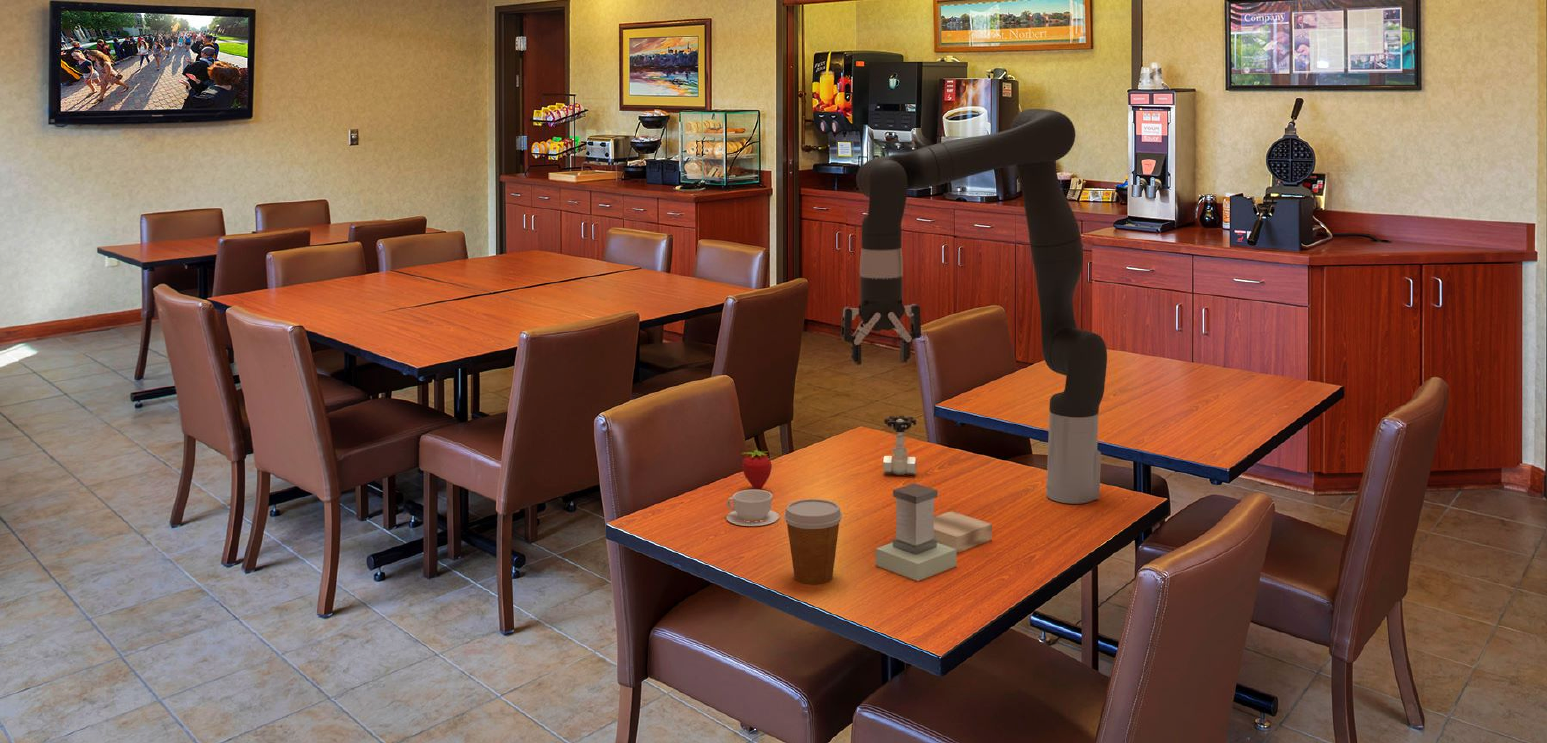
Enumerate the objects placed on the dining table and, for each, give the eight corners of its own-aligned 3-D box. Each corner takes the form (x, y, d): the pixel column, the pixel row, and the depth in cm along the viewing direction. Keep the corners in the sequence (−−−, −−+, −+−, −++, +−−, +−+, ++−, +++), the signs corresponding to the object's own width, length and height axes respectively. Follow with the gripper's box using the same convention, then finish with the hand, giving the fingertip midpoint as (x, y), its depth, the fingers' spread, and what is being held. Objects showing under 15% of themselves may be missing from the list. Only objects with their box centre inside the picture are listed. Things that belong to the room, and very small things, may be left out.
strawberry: (746, 498, 236) (745, 449, 234) (739, 487, 243) (738, 439, 241) (775, 496, 237) (774, 447, 235) (768, 484, 244) (767, 437, 242)
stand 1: (914, 551, 207) (914, 534, 206) (956, 566, 200) (956, 549, 199) (875, 565, 200) (875, 548, 200) (917, 581, 193) (918, 564, 193)
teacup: (785, 513, 228) (785, 489, 227) (770, 530, 218) (769, 506, 217) (736, 508, 231) (735, 485, 230) (718, 525, 221) (718, 501, 220)
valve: (914, 480, 246) (914, 423, 243) (882, 478, 247) (882, 422, 244) (916, 470, 252) (917, 415, 249) (885, 469, 253) (886, 414, 251)
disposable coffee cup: (782, 567, 200) (780, 499, 198) (838, 564, 201) (838, 496, 198) (787, 589, 191) (786, 518, 188) (846, 587, 192) (846, 516, 189)
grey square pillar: (913, 539, 204) (914, 483, 202) (936, 547, 200) (937, 490, 198) (892, 546, 200) (893, 489, 198) (915, 554, 197) (916, 497, 194)
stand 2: (950, 526, 218) (950, 511, 218) (991, 540, 211) (992, 524, 211) (915, 539, 212) (915, 523, 212) (956, 553, 205) (956, 537, 204)
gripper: (847, 278, 206) (847, 369, 210) (926, 274, 209) (925, 365, 213) (837, 272, 214) (837, 361, 217) (913, 269, 216) (912, 356, 220)
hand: (880, 363), depth 215 cm, fingers open, 8 cm apart
